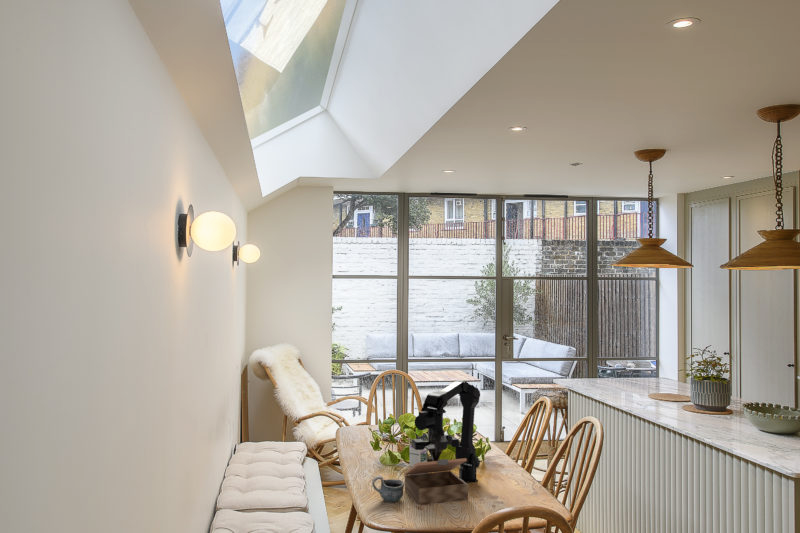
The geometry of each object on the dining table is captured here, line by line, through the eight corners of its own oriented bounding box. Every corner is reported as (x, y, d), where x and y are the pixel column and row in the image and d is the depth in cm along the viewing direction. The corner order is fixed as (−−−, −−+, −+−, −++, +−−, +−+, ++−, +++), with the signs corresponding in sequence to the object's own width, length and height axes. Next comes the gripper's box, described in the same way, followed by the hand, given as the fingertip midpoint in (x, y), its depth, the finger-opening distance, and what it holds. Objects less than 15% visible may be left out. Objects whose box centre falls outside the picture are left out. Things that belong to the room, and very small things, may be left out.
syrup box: (420, 480, 262) (420, 446, 262) (409, 477, 266) (409, 444, 266) (427, 477, 267) (427, 443, 267) (416, 474, 270) (416, 441, 271)
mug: (408, 502, 235) (408, 476, 235) (378, 508, 230) (378, 481, 230) (397, 495, 244) (397, 469, 244) (368, 499, 238) (368, 473, 239)
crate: (450, 485, 256) (450, 470, 256) (468, 499, 238) (468, 484, 239) (404, 490, 249) (404, 475, 250) (419, 505, 232) (419, 489, 232)
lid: (451, 472, 255) (450, 467, 256) (467, 462, 240) (466, 457, 241) (404, 477, 249) (403, 472, 250) (418, 467, 233) (417, 461, 234)
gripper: (420, 432, 234) (419, 473, 234) (465, 428, 240) (464, 468, 240) (411, 425, 245) (410, 464, 245) (454, 422, 251) (453, 460, 250)
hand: (435, 464), depth 245 cm, fingers closed, pressing on lid
